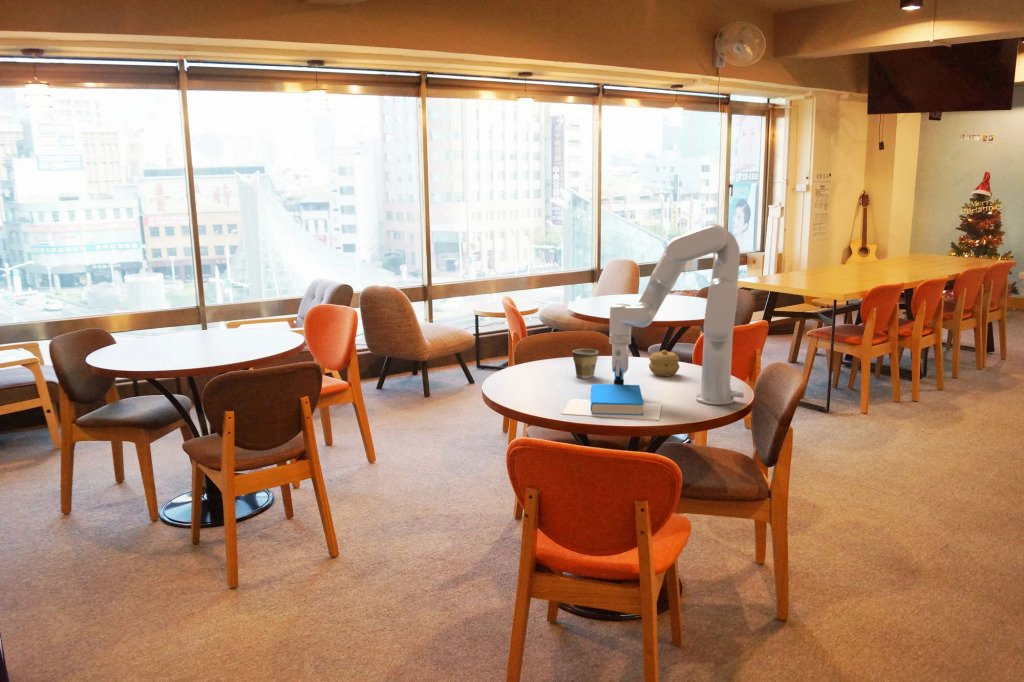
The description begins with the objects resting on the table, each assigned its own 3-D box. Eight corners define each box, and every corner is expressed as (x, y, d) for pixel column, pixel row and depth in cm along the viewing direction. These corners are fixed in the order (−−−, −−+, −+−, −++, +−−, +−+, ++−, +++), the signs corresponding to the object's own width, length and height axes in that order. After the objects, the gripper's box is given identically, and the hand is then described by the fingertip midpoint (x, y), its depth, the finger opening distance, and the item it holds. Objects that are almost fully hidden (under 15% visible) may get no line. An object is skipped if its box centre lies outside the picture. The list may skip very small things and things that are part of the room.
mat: (661, 404, 269) (661, 404, 269) (658, 420, 251) (658, 419, 251) (570, 399, 276) (570, 398, 276) (561, 414, 258) (561, 413, 258)
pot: (676, 371, 318) (677, 347, 316) (681, 378, 306) (682, 353, 304) (646, 371, 318) (647, 347, 316) (650, 378, 306) (651, 353, 304)
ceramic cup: (598, 379, 305) (599, 353, 303) (572, 379, 305) (573, 353, 303) (596, 371, 317) (596, 347, 315) (570, 371, 318) (571, 347, 316)
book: (639, 384, 279) (644, 402, 255) (638, 396, 280) (644, 415, 255) (590, 383, 281) (590, 401, 256) (589, 395, 281) (590, 414, 257)
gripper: (628, 343, 271) (627, 396, 274) (633, 336, 285) (631, 385, 289) (606, 342, 273) (605, 394, 276) (612, 335, 287) (610, 384, 290)
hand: (618, 390), depth 282 cm, fingers closed
